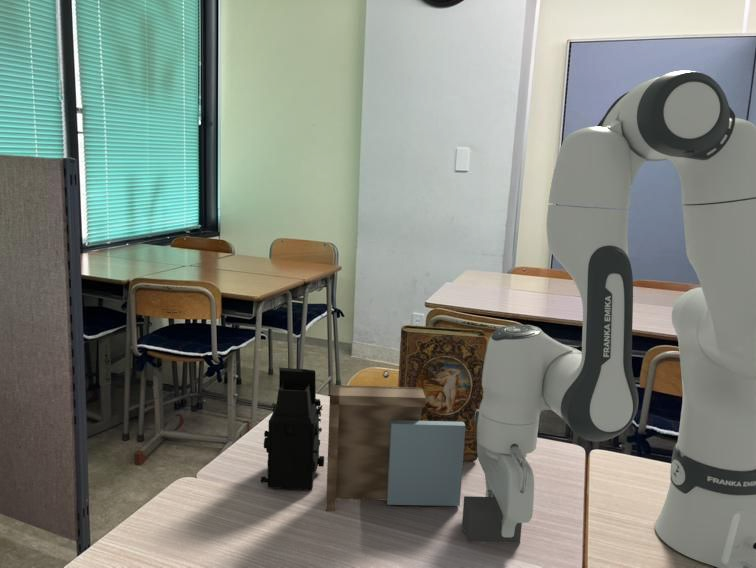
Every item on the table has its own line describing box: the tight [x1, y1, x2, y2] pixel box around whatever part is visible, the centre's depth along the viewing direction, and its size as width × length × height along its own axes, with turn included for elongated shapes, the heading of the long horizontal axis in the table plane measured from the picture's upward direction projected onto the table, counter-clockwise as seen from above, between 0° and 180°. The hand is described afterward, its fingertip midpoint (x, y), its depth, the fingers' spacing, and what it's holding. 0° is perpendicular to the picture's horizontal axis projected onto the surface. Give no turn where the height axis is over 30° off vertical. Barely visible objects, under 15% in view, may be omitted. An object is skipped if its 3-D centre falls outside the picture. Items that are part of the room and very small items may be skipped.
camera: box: [260, 367, 325, 492], centre depth 107 cm, size 10×14×20 cm
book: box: [397, 324, 488, 462], centre depth 118 cm, size 16×6×25 cm, turn 84°
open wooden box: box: [325, 384, 426, 512], centre depth 98 cm, size 15×5×20 cm, turn 93°
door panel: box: [386, 420, 465, 507], centre depth 99 cm, size 12×2×14 cm, turn 93°
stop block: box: [461, 495, 523, 544], centre depth 92 cm, size 8×4×5 cm, turn 93°
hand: (498, 516), depth 92 cm, fingers open, 8 cm apart
